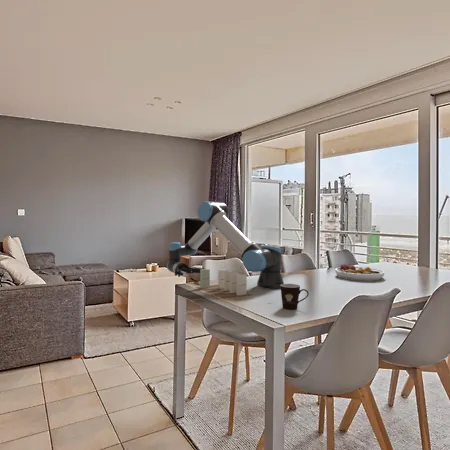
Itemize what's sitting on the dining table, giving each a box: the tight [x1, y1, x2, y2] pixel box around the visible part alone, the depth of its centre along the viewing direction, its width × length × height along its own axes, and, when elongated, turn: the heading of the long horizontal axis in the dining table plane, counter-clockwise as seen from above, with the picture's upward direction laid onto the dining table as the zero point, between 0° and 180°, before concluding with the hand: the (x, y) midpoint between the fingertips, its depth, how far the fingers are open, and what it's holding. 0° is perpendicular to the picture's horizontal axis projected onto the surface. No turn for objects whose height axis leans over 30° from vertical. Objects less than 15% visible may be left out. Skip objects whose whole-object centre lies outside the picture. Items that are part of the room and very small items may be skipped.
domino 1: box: [199, 268, 211, 288], centre depth 202 cm, size 2×5×10 cm, turn 121°
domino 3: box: [224, 270, 235, 291], centre depth 196 cm, size 2×5×10 cm, turn 122°
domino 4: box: [230, 272, 241, 293], centre depth 191 cm, size 2×5×10 cm, turn 122°
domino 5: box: [237, 273, 248, 295], centre depth 186 cm, size 2×5×10 cm, turn 122°
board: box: [194, 284, 253, 300], centre depth 194 cm, size 31×17×1 cm, turn 31°
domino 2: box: [217, 269, 229, 289], centre depth 201 cm, size 2×5×10 cm, turn 122°
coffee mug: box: [280, 283, 309, 311], centre depth 162 cm, size 12×9×10 cm
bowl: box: [335, 263, 385, 282], centre depth 241 cm, size 30×30×8 cm
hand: (196, 274), depth 210 cm, fingers open, 13 cm apart
